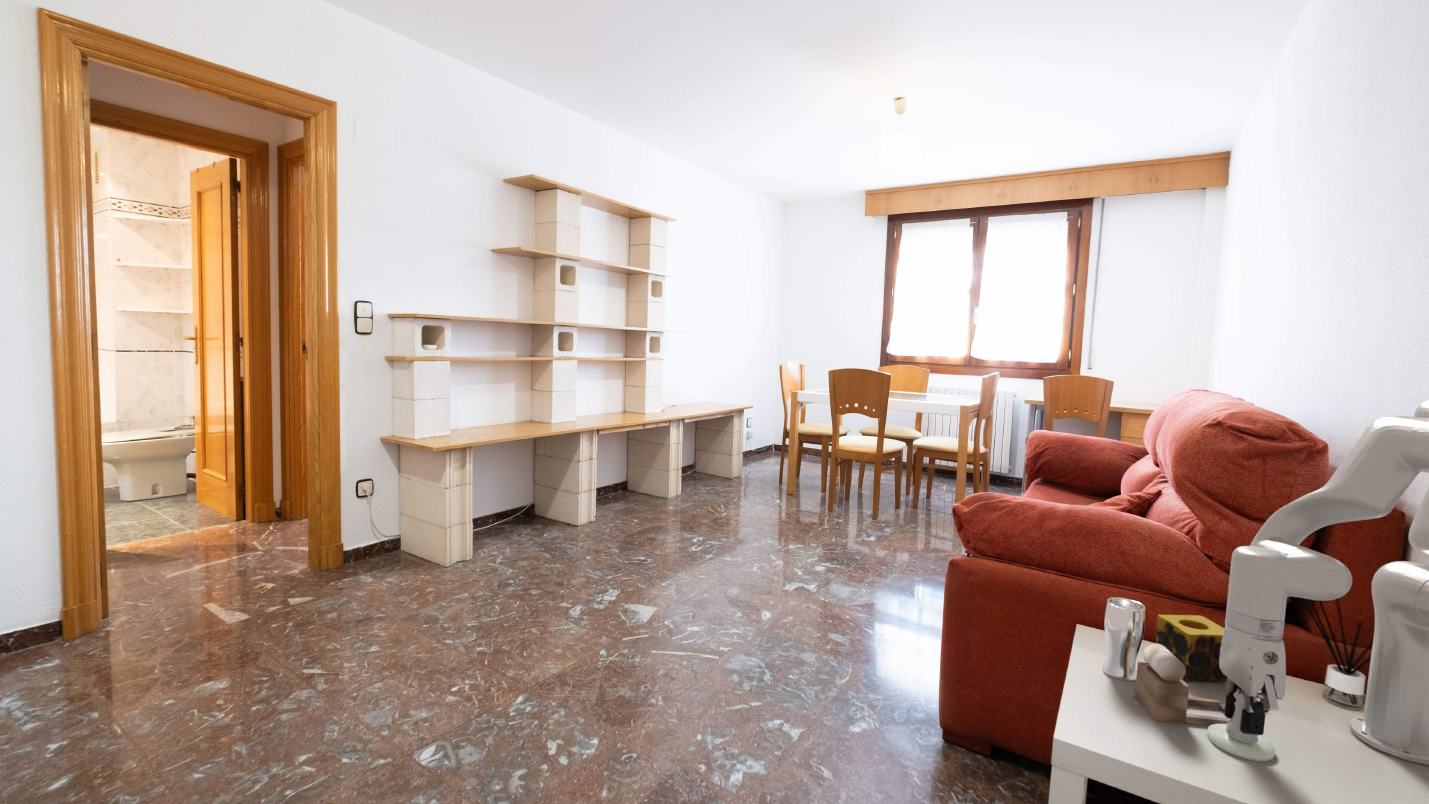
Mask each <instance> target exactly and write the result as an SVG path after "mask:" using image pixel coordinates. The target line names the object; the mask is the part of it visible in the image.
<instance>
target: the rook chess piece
mask: <svg viewBox="0 0 1429 804" xmlns="http://www.w3.org/2000/svg"><path fill="white" fill-rule="evenodd" d="M1234 697H1235V698H1236V702H1235V703H1234V704H1235V712H1234V715H1233V717H1232V718H1231V719H1230V721H1228V722H1227V725H1226V726H1227V728H1226V729H1225V730H1226V732H1227V734H1228V735H1229V736H1230V737H1231V738H1233V739H1235V740H1237V741H1239V742H1242V743H1246V744H1254V743H1256V742H1258V740H1259V739H1258V737H1257V736H1258V735H1255V734H1245V733H1242V732H1241V731H1240V725H1241V715H1242V709H1246V708H1245V691H1244V690H1243V689H1241V691H1240V689H1237V692H1236V693H1234ZM1256 701H1258V698H1253V703H1255V702H1256Z"/></svg>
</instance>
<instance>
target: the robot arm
mask: <svg viewBox="0 0 1429 804" xmlns="http://www.w3.org/2000/svg"><path fill="white" fill-rule="evenodd" d="M1420 473H1428V474H1429V399H1428V400H1426V401H1423V402H1421V403H1420V404H1419V405H1418V406H1417V408H1416V409H1415V412H1414V414H1413V416H1408V415H1407V416H1405V415H1404V416H1403V415H1390V416H1383V417H1380V418H1378V419H1376V420H1374V421H1372V423H1370V424H1369V425H1368V426H1367V427H1366V429H1365V430H1364V431H1363V432H1362V434H1361V436H1360V437H1359V438H1358V439H1357V441H1356V442H1355V443H1354V445H1353V446H1352V448H1351V450H1350V451H1349V452H1348V453H1347V455H1346V456H1345V458H1344V459H1343V460H1342V462H1341V463H1340V464H1339V466H1338V467H1337V468H1336V470H1335V471H1334V472H1333V474H1332V476H1331V477H1330V478H1329V480H1328V481H1327V482H1326V483H1325V484H1324V485H1323V486H1322V487H1320V488H1318V489H1317V490H1313V491H1312V492H1309V493H1307V494H1305V495H1302V496H1301V497H1298V498H1296V499H1295V500H1293V501H1291V502H1289V503H1287V504H1286V505H1283V506H1282V507H1281V508H1278V509H1277V510H1276V511H1275V512H1274V513H1272V514H1271V515H1270V516H1269V517H1268V519H1266V521H1265V522H1264V523H1263V525H1262V526H1261V527H1260V529H1259V530H1258V532H1257V533H1256V535H1255V536H1254V537H1253V539H1252V541H1251V543H1250V545H1244V546H1243V545H1241V546H1238V547H1236V548H1235V549H1234V550H1233V551H1232V552H1231V553H1232V555H1231V561H1230V570H1229V579H1228V580H1229V581H1228V590H1227V598H1226V599H1227V601H1226V602H1227V603H1226V611H1225V619H1224V625H1225V626H1224V627H1223V628H1224V632H1223V637H1222V642H1221V648H1220V658H1219V666H1220V669H1221V671H1222V673H1223V675H1224V679H1225V682H1224V683H1225V685H1224V692H1225V693H1226V695H1225V704H1224V706H1225V712H1224V713H1223V715H1224V717H1225V718H1232V717H1233V715H1234V712H1235V704H1234V703H1235V702H1236V698H1235V697H1234V693H1236V692H1237V689H1240V691H1241V689H1243V690H1244V691H1245V708H1246V709H1242V715H1241V725H1240V731H1241V732H1242V733H1245V734H1255V735H1260V736H1263V735H1264V733H1265V732H1264V731H1265V724H1266V715H1268V714H1269V711H1278V710H1279V704H1278V700H1283V699H1285V698H1284V697H1285V693H1286V675H1287V663H1286V662H1287V661H1286V660H1287V659H1286V647H1285V643H1284V642H1285V641H1284V640H1283V637H1284V630H1285V619H1286V611H1287V610H1286V608H1287V599H1288V598H1289V597H1292V598H1293V597H1294V598H1302V599H1305V600H1311V601H1320V602H1321V601H1325V602H1326V601H1334V600H1337V599H1339V598H1342V597H1344V596H1345V595H1347V593H1348V592H1349V591H1350V590H1351V588H1352V585H1353V576H1352V573H1351V571H1350V570H1349V568H1348V567H1347V566H1346V565H1345V564H1343V563H1342V562H1341V561H1340V560H1338V559H1336V558H1334V557H1332V556H1331V555H1327V554H1326V553H1325V554H1324V553H1321V552H1319V551H1316V550H1313V549H1310V548H1308V547H1305V546H1302V545H1300V544H1301V543H1302V542H1303V541H1304V540H1305V539H1306V538H1307V537H1308V536H1309V535H1311V534H1313V533H1314V532H1315V531H1318V530H1320V529H1322V528H1324V527H1327V526H1331V525H1336V524H1339V523H1348V522H1355V521H1364V520H1372V519H1373V520H1374V519H1379V518H1382V517H1383V518H1384V517H1385V516H1387V515H1389V514H1390V513H1391V512H1392V511H1393V509H1394V507H1395V506H1396V505H1397V504H1398V502H1399V501H1400V499H1401V497H1403V495H1404V494H1405V493H1406V491H1407V490H1408V488H1409V487H1410V485H1411V484H1413V482H1414V480H1415V479H1416V478H1417V477H1418V476H1419V474H1420ZM1408 531H1409V532H1408V542H1409V544H1410V546H1411V547H1412V548H1413V550H1415V551H1416V552H1418V553H1420V554H1422V555H1424V556H1426V557H1428V558H1429V486H1428V487H1427V489H1426V491H1425V494H1424V496H1423V498H1422V500H1421V503H1420V504H1419V507H1418V509H1417V511H1416V513H1415V516H1414V517H1413V520H1412V523H1411V524H1410V528H1409V530H1408ZM1371 596H1372V602H1373V609H1374V629H1373V631H1374V632H1373V641H1372V648H1371V652H1370V653H1371V655H1370V663H1369V670H1368V679H1367V687H1366V693H1365V701H1364V707H1363V708H1364V709H1363V716H1356V717H1353V718H1352V719H1350V722H1349V729H1350V731H1351V732H1352V734H1353V735H1354V736H1355V737H1357V738H1358V739H1359V740H1361V741H1363V742H1364V743H1365V744H1367V745H1369V746H1371V747H1373V748H1375V749H1376V750H1379V751H1381V752H1382V753H1385V754H1388V755H1391V756H1393V757H1397V758H1400V759H1402V760H1405V761H1407V762H1408V761H1409V762H1413V763H1417V764H1421V765H1424V766H1425V765H1427V766H1429V565H1427V564H1424V563H1423V564H1422V563H1420V562H1414V561H1404V560H1401V561H1391V562H1389V563H1386V564H1384V565H1382V566H1381V567H1379V568H1378V569H1377V571H1376V572H1375V573H1374V575H1373V578H1372V581H1371ZM1253 698H1256V699H1259V701H1256V702H1255V703H1253Z"/></svg>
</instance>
